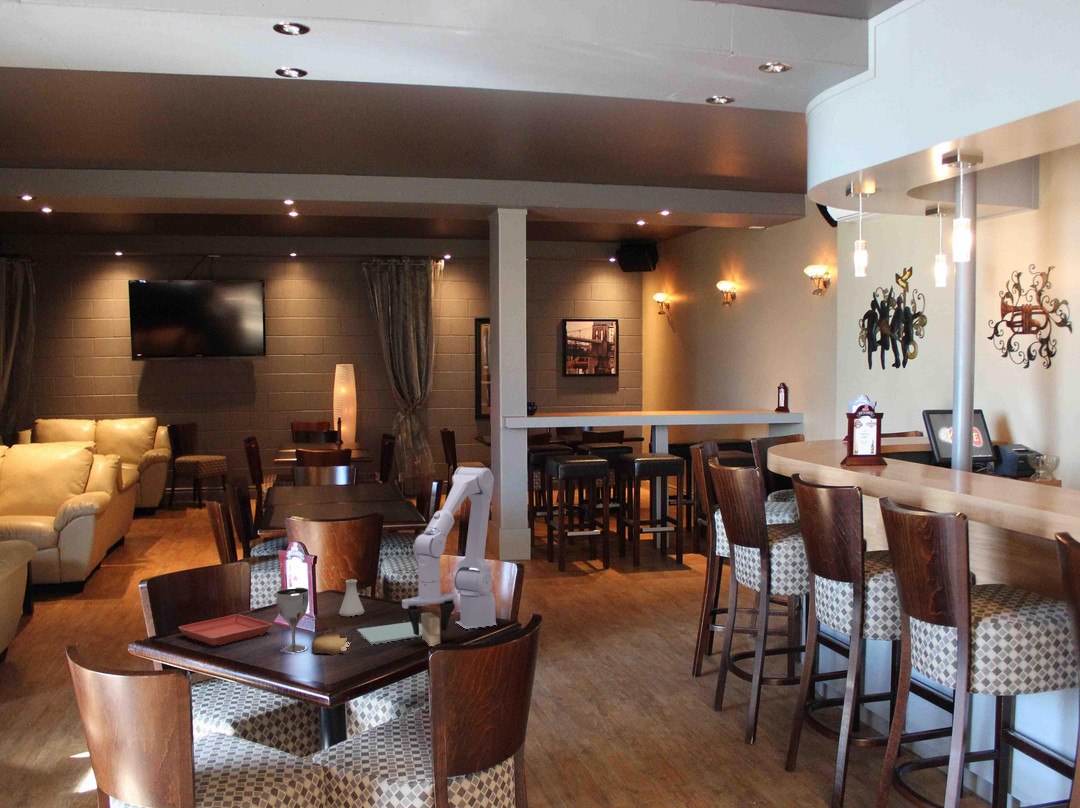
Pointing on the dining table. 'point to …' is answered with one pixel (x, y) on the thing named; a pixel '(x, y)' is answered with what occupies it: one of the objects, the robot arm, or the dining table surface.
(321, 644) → the parchment
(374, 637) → the mat
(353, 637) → the dining table surface
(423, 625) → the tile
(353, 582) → the flask
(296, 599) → the wine glass
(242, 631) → the plant saucer
